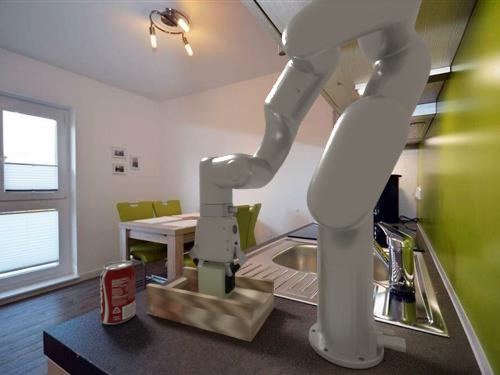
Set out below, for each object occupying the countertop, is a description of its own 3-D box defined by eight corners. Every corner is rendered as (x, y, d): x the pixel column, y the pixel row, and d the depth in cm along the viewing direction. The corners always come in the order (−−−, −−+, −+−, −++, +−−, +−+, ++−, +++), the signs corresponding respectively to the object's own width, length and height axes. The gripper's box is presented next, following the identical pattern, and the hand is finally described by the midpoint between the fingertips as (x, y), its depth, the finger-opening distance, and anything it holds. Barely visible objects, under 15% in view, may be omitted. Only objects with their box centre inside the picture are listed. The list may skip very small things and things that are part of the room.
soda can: (142, 315, 55) (141, 262, 55) (112, 331, 49) (111, 271, 49) (124, 308, 58) (123, 258, 58) (94, 321, 53) (93, 266, 53)
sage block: (234, 291, 58) (234, 261, 58) (221, 302, 53) (221, 270, 52) (213, 287, 60) (212, 259, 60) (198, 297, 55) (198, 266, 55)
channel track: (274, 307, 58) (274, 280, 58) (250, 341, 45) (250, 307, 45) (185, 289, 69) (185, 266, 69) (146, 313, 56) (146, 285, 56)
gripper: (257, 210, 56) (257, 288, 56) (195, 208, 63) (195, 278, 63) (243, 214, 49) (244, 303, 50) (175, 211, 56) (176, 289, 56)
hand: (217, 288), depth 56 cm, fingers closed on sage block, 6 cm apart
